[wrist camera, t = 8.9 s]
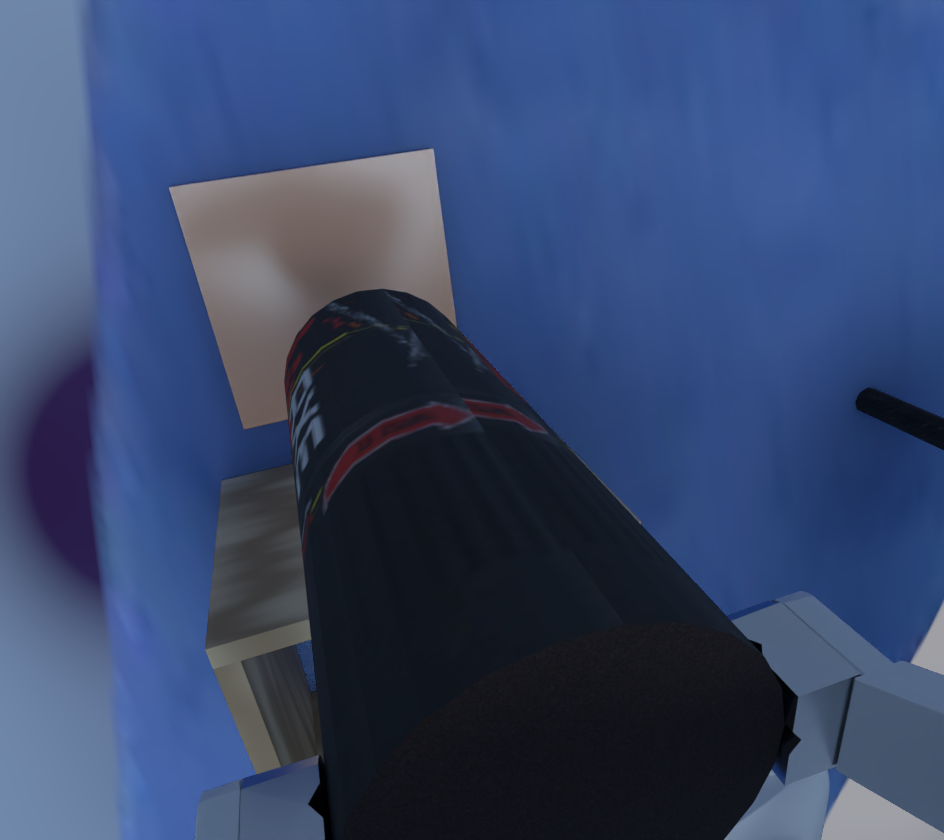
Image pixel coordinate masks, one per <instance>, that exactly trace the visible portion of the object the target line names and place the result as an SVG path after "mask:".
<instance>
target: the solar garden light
mask: <svg viewBox="0 0 944 840" xmlns="http://www.w3.org/2000/svg"><path fill="white" fill-rule="evenodd" d="M856 405H857V409H858V410H860V411H862V412H864V413H866V414H868V415H870V416H872V417H875V418H877V419H879V420H881V421H883V422H885V423H887V424H889V425H891V426H894V427H896V428H898V429H900V430H902V431H904V432H906V433H908V434H910V435H913V436H915V437H917V438H919V439H921V440H923V441H925V442H927V443H929V444H932V445H934V446H936V447H938V448H940V449H942V450H944V418H942V417H939V416H937V415H935V414H932V413H930V412H928V411H925V410H923V409H921V408H918V407H916V406H914V405H911V404H909V403H906V402H904V401H902V400H899V399H897V398H895V397H892V396H890V395H888V394H885V393H883V392H881V391H878V390H876V389H872V388H867V389H865V390H864V391H863V392H861V393H860V394H859V396H858V398H857V401H856Z"/></svg>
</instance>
